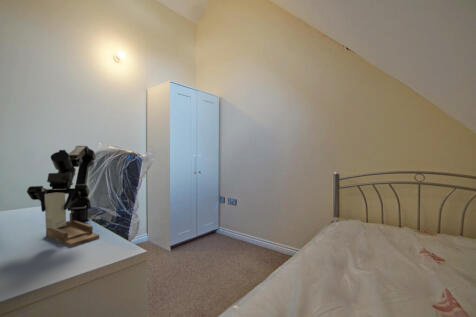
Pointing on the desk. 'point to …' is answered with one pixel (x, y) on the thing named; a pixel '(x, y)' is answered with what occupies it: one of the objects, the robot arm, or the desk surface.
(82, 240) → the tray
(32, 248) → the desk surface
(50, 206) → the box
